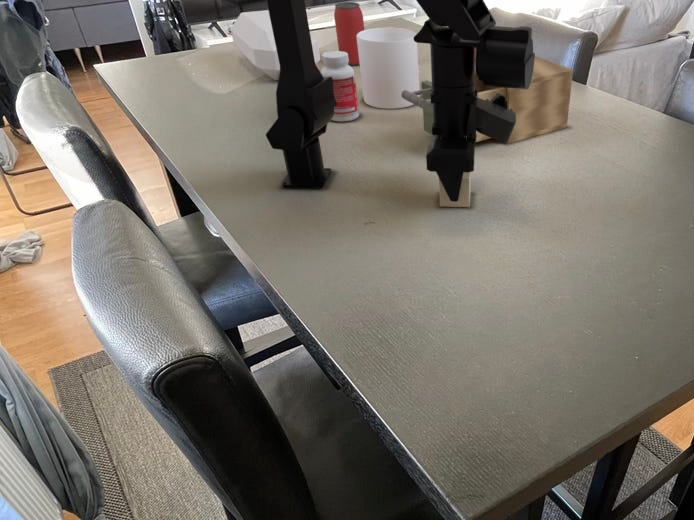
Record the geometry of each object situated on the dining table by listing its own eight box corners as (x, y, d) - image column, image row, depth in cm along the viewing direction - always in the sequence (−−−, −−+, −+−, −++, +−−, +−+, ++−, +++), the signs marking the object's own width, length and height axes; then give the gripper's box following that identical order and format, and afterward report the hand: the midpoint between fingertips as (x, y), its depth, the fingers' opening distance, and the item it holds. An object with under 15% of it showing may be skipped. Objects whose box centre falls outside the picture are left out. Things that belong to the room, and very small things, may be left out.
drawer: (431, 157, 98) (429, 105, 92) (396, 136, 105) (392, 86, 99) (519, 133, 106) (522, 84, 101) (482, 116, 113) (483, 68, 107)
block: (469, 207, 87) (469, 178, 84) (439, 206, 87) (438, 178, 84) (470, 194, 90) (470, 166, 87) (442, 193, 90) (441, 165, 87)
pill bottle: (364, 118, 114) (357, 55, 106) (335, 124, 111) (325, 60, 104) (351, 109, 118) (343, 47, 110) (322, 115, 115) (312, 52, 107)
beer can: (337, 60, 143) (329, 2, 135) (363, 57, 145) (357, 0, 137) (344, 67, 139) (336, 8, 131) (371, 64, 141) (365, 6, 133)
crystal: (253, 37, 121) (222, 10, 138) (265, 87, 127) (234, 56, 145) (321, 29, 126) (283, 5, 144) (328, 78, 133) (291, 49, 150)
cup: (367, 111, 117) (360, 43, 109) (360, 92, 125) (352, 28, 117) (425, 106, 119) (421, 40, 111) (414, 89, 128) (410, 25, 119)
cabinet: (507, 143, 105) (509, 83, 98) (466, 123, 113) (466, 65, 106) (566, 127, 112) (573, 69, 105) (524, 109, 119) (528, 53, 112)
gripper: (515, 106, 70) (509, 225, 81) (513, 63, 84) (508, 169, 95) (423, 104, 70) (429, 223, 81) (436, 61, 84) (439, 168, 95)
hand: (455, 194), depth 88 cm, fingers closed on block, 4 cm apart
